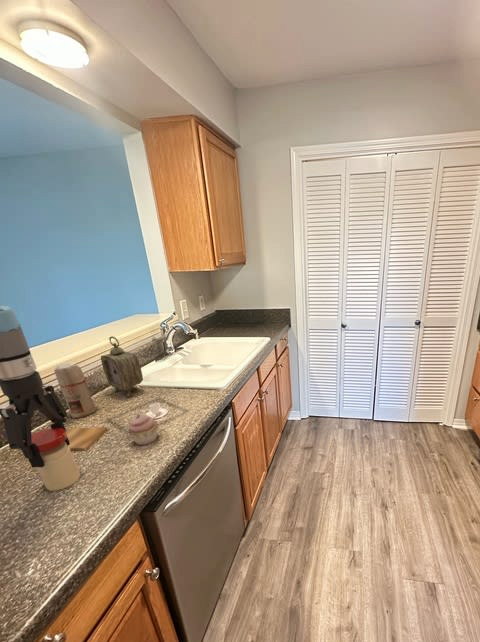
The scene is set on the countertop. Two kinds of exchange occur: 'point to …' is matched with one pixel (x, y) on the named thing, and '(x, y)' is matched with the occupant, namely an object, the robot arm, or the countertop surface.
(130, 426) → the cupcake
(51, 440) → the lid
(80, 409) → the tan tall cylinder
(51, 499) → the countertop surface
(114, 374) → the tabletop clock
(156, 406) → the teacup and saucer
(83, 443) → the board
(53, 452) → the jar
